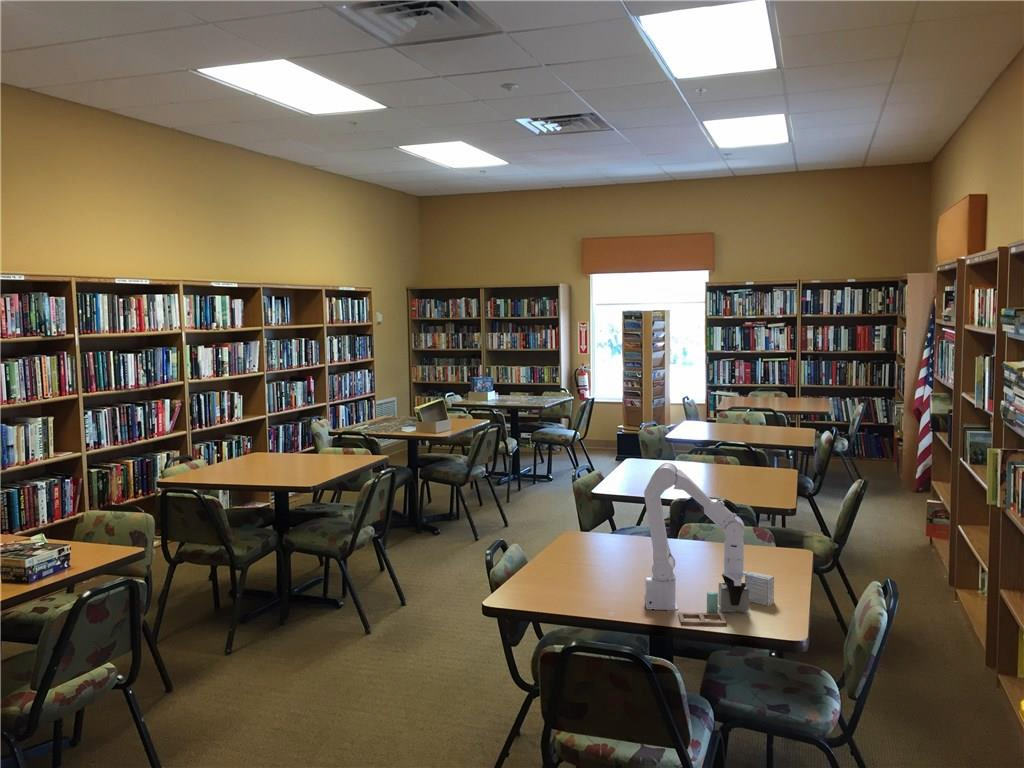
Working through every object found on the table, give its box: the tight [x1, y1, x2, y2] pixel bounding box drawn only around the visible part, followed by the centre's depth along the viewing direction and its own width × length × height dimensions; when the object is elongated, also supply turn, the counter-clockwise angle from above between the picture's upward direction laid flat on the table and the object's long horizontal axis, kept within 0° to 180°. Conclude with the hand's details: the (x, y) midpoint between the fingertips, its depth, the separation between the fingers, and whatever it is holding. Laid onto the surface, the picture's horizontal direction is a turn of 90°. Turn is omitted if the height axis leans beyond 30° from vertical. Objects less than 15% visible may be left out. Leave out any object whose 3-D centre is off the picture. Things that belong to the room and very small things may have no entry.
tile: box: [718, 606, 752, 617], centre depth 242 cm, size 9×7×3 cm
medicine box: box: [744, 571, 775, 607], centre depth 250 cm, size 8×4×9 cm, turn 48°
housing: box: [717, 582, 750, 611], centre depth 242 cm, size 8×5×6 cm
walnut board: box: [677, 611, 728, 627], centre depth 234 cm, size 13×8×1 cm, turn 84°
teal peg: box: [706, 591, 719, 613], centre depth 241 cm, size 3×3×6 cm
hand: (733, 601), depth 242 cm, fingers closed on housing, 5 cm apart
